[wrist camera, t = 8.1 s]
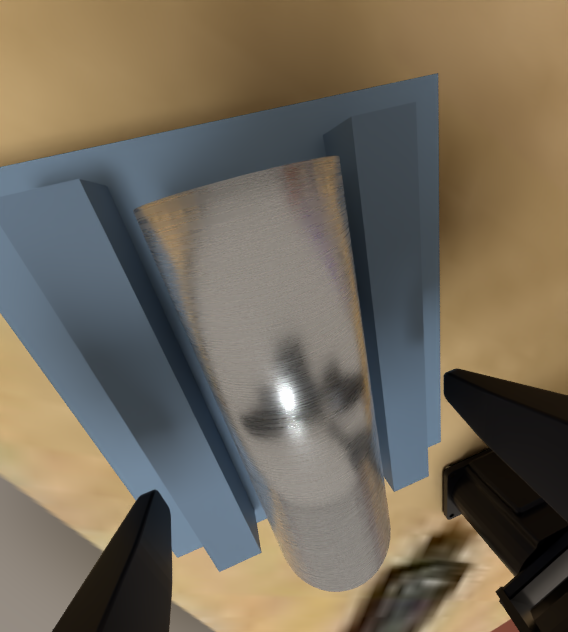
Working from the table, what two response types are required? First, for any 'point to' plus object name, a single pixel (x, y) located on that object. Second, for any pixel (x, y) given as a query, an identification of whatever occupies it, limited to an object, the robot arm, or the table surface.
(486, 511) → the robot arm
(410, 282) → the cradle
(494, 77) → the table surface
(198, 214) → the axle
